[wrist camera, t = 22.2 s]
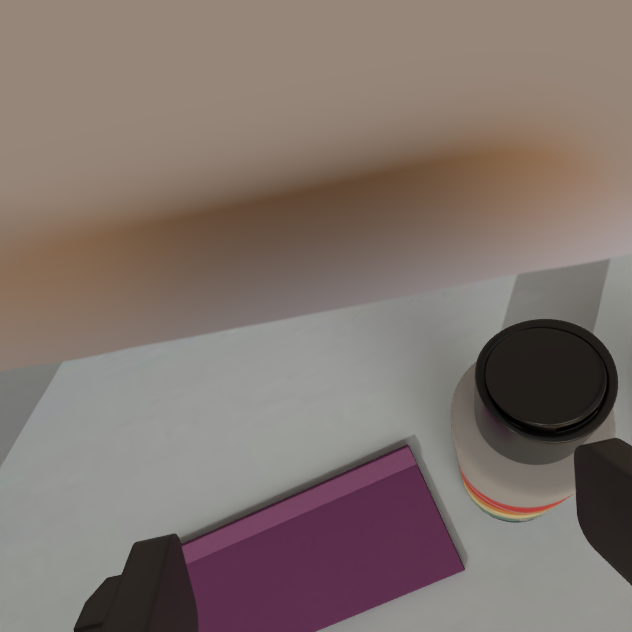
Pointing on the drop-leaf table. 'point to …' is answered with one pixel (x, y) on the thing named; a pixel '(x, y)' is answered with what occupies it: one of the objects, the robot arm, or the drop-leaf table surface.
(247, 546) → the purple rectangular block
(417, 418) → the drop-leaf table surface
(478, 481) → the lotion bottle
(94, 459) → the drop-leaf table surface
